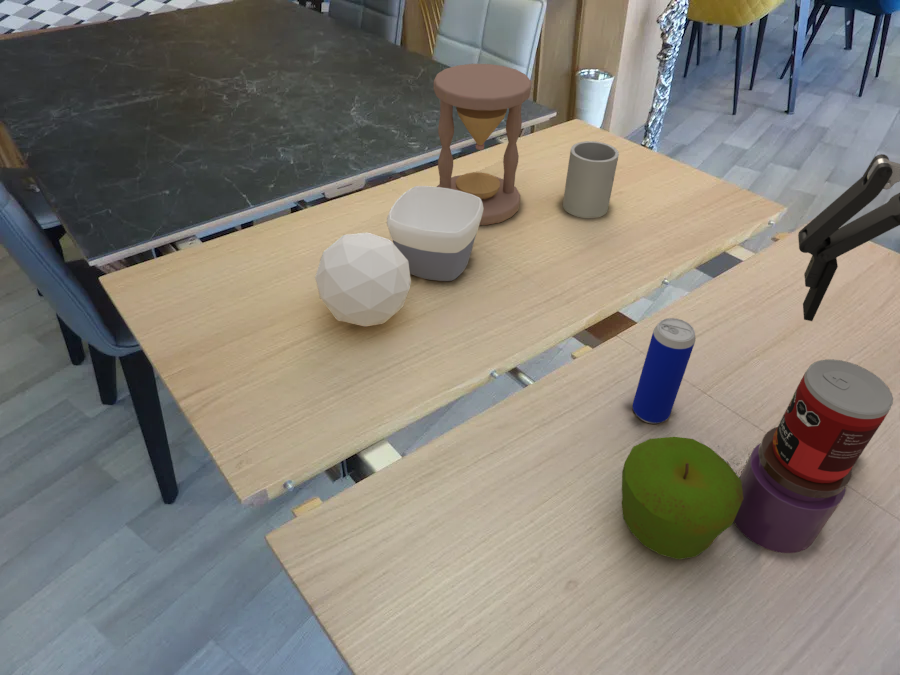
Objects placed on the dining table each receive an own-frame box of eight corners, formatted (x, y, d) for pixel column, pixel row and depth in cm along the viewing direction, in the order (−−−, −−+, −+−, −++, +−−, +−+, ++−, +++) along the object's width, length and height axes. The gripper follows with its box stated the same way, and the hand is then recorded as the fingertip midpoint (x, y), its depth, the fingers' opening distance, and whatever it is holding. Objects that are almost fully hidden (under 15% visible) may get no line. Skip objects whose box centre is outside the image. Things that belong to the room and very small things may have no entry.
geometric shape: (388, 329, 113) (441, 265, 107) (351, 358, 99) (410, 287, 93) (325, 273, 113) (375, 206, 107) (280, 295, 100) (334, 219, 93)
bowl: (463, 296, 112) (465, 239, 105) (379, 277, 116) (375, 221, 108) (488, 248, 123) (492, 194, 116) (411, 233, 127) (410, 179, 119)
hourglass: (517, 183, 142) (528, 64, 126) (522, 227, 129) (535, 99, 113) (435, 181, 142) (435, 61, 126) (431, 224, 129) (431, 96, 113)
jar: (814, 496, 82) (852, 436, 75) (818, 565, 75) (860, 506, 68) (730, 472, 85) (758, 412, 78) (726, 537, 78) (757, 477, 70)
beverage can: (673, 407, 93) (702, 325, 84) (663, 431, 90) (691, 348, 80) (638, 393, 95) (662, 311, 86) (626, 416, 92) (649, 333, 82)
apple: (594, 536, 77) (611, 476, 70) (634, 467, 85) (653, 406, 78) (700, 593, 72) (730, 535, 65) (732, 514, 80) (762, 454, 73)
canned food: (777, 419, 77) (813, 348, 70) (852, 449, 74) (898, 378, 66) (762, 463, 72) (799, 392, 65) (842, 497, 69) (890, 426, 61)
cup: (608, 220, 132) (619, 164, 124) (562, 215, 133) (570, 159, 125) (607, 198, 138) (617, 143, 131) (563, 193, 139) (571, 139, 132)
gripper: (828, 110, 51) (746, 322, 65) (1229, 160, 45) (1043, 384, 59) (822, 77, 57) (748, 280, 70) (1179, 118, 50) (1020, 332, 64)
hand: (882, 327), depth 65 cm, fingers open, 13 cm apart
